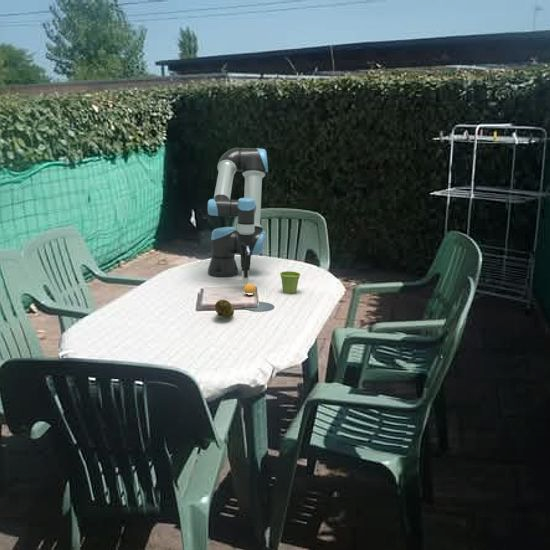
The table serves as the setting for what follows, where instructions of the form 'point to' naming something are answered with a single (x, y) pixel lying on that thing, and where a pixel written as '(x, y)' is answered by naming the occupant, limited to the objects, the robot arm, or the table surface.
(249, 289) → the ball
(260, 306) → the disc
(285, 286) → the plant pot
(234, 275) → the robot arm
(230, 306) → the potato
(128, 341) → the table surface
